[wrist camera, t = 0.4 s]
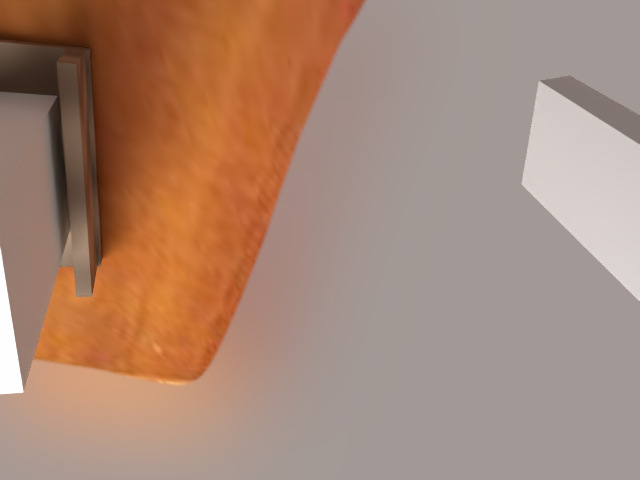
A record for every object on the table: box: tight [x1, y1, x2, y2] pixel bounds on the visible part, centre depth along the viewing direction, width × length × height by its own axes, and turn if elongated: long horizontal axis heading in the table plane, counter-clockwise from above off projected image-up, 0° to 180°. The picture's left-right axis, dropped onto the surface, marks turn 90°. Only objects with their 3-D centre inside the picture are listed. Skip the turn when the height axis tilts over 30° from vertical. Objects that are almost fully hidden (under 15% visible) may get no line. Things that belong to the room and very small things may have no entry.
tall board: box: [0, 92, 69, 394], centre depth 28 cm, size 10×4×16 cm, turn 171°
